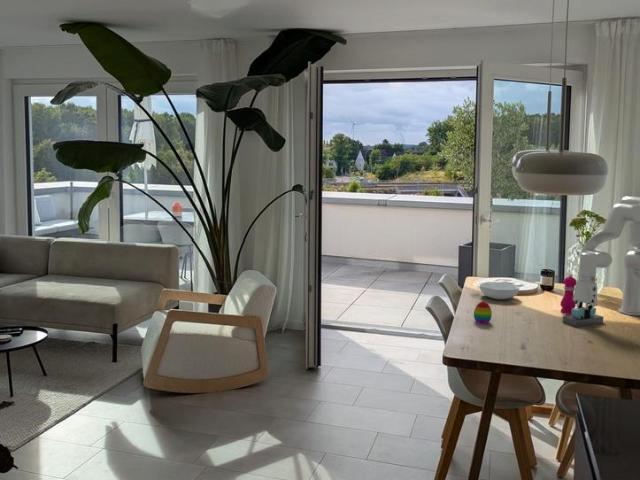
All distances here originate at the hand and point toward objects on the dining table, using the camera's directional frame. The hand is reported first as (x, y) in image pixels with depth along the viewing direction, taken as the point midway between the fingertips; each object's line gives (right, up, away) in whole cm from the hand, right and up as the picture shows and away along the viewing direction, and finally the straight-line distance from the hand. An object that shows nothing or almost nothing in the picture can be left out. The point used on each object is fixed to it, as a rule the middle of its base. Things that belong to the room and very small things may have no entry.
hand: (583, 316), depth 313 cm
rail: (0, -3, 0) cm, 3 cm away
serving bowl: (-28, +4, +46) cm, 54 cm away
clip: (0, -2, 0) cm, 2 cm away
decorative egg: (-49, -3, -3) cm, 49 cm away
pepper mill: (-1, -1, +18) cm, 18 cm away
